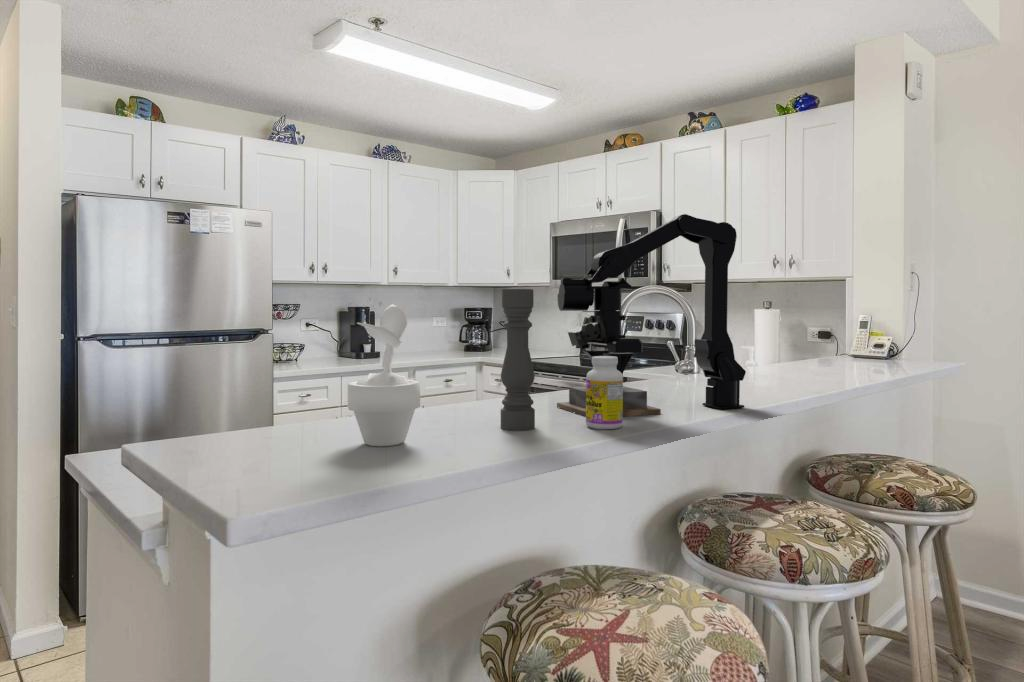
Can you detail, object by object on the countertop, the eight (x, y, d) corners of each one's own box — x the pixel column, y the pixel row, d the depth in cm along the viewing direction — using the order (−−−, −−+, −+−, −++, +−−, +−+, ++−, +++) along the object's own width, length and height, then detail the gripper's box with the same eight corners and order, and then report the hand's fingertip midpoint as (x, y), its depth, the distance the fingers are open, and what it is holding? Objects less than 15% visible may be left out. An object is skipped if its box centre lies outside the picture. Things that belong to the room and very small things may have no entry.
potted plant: (379, 433, 113) (377, 288, 112) (434, 440, 108) (433, 287, 107) (326, 447, 102) (324, 286, 101) (385, 455, 97) (383, 285, 96)
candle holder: (540, 429, 117) (540, 289, 116) (508, 431, 115) (507, 288, 114) (526, 423, 123) (526, 290, 122) (495, 425, 121) (495, 289, 120)
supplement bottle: (579, 425, 121) (579, 356, 121) (609, 422, 124) (609, 355, 124) (598, 431, 115) (599, 358, 115) (630, 428, 118) (630, 357, 118)
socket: (620, 403, 150) (620, 383, 149) (660, 413, 135) (660, 391, 134) (556, 407, 144) (556, 386, 144) (590, 418, 129) (591, 395, 129)
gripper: (554, 310, 144) (554, 381, 145) (594, 311, 127) (594, 391, 127) (599, 310, 148) (599, 379, 149) (644, 310, 131) (643, 388, 131)
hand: (607, 384), depth 139 cm, fingers open, 5 cm apart
